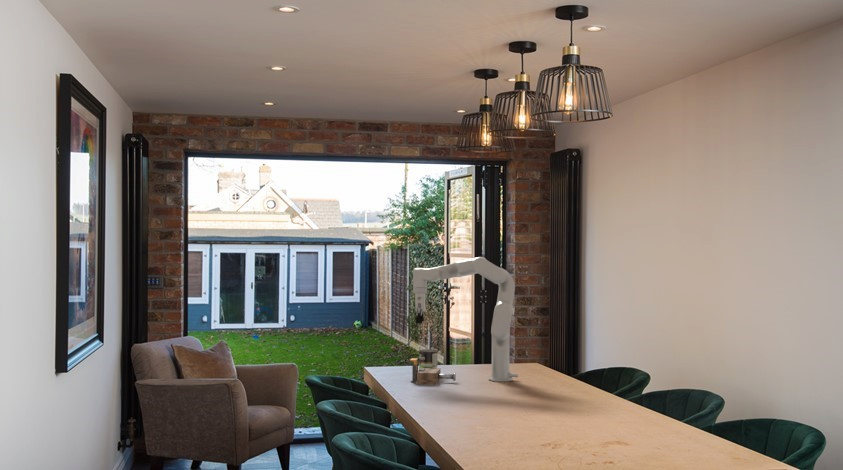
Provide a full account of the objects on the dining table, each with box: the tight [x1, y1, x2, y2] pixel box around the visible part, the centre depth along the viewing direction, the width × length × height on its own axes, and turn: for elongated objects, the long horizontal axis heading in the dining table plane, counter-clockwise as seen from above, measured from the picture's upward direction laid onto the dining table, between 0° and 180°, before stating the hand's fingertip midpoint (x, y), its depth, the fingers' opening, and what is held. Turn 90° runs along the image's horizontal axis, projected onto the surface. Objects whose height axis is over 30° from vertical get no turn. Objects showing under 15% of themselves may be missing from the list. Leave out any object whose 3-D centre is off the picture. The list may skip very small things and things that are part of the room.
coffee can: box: [418, 348, 438, 370], centre depth 437 cm, size 10×10×14 cm
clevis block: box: [410, 362, 442, 386], centre depth 418 cm, size 14×18×9 cm
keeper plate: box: [409, 357, 419, 370], centre depth 419 cm, size 3×5×6 cm, turn 172°
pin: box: [438, 372, 457, 381], centre depth 416 cm, size 12×4×4 cm, turn 81°
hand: (419, 322), depth 430 cm, fingers open, 9 cm apart
